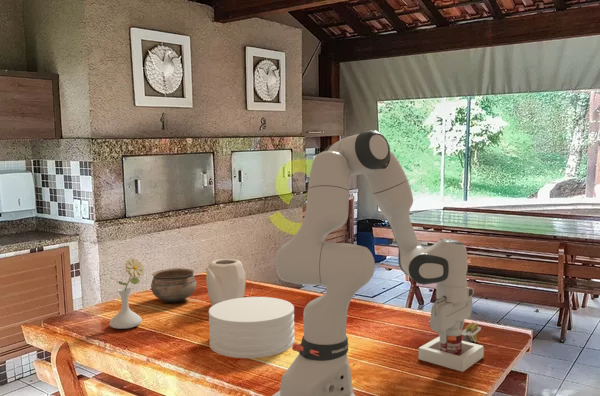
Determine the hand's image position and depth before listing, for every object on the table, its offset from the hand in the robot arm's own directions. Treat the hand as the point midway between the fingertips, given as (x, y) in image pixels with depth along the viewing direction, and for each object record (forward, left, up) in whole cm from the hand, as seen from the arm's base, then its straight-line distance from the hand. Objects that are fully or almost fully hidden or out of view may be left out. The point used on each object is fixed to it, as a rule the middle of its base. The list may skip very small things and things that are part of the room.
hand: (451, 338), depth 156 cm
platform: (+16, +1, -7) cm, 17 cm away
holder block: (0, 0, -6) cm, 6 cm away
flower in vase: (-48, +103, -6) cm, 114 cm away
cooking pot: (-18, +118, -6) cm, 120 cm away
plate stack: (-29, +56, -6) cm, 64 cm away
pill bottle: (0, 0, -6) cm, 6 cm away
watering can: (-10, +94, -6) cm, 95 cm away
